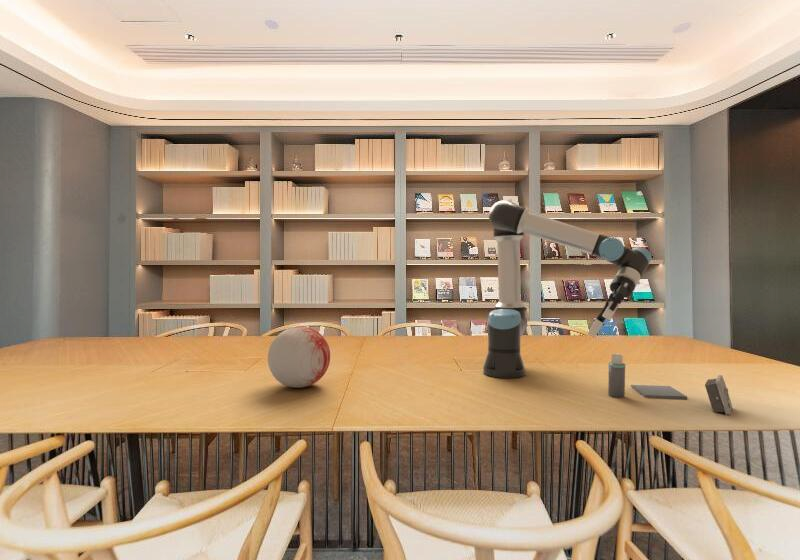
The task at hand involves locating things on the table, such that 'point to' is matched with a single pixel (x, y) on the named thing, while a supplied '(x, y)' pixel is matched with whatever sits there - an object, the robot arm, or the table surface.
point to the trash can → (616, 376)
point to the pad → (658, 391)
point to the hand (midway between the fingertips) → (598, 326)
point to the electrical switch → (718, 395)
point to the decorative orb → (298, 357)
